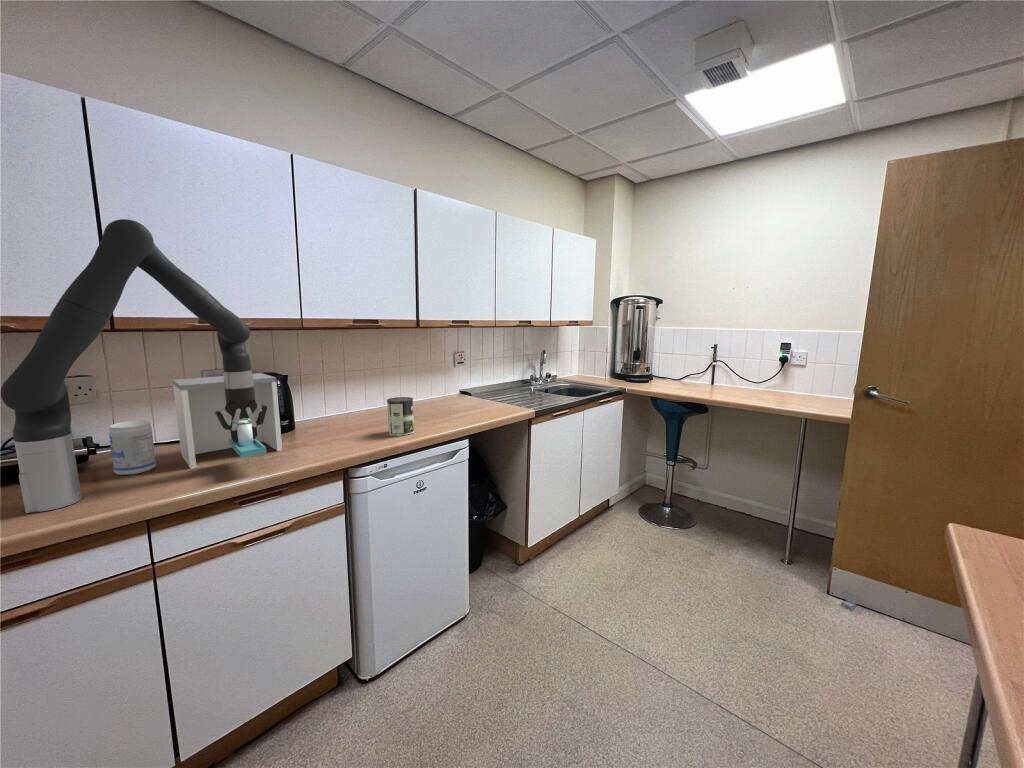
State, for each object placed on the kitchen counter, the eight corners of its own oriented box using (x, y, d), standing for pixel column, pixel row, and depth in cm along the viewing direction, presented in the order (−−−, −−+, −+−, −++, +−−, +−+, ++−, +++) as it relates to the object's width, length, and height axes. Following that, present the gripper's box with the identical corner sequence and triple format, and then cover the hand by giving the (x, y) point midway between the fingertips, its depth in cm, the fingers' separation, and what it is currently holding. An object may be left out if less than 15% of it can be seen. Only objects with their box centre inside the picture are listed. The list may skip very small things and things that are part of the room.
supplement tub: (105, 475, 123) (98, 426, 121) (138, 464, 132) (131, 419, 130) (133, 476, 121) (127, 427, 119) (164, 465, 131) (159, 420, 129)
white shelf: (190, 468, 128) (180, 385, 124) (181, 455, 141) (172, 379, 137) (282, 450, 146) (276, 377, 143) (267, 440, 159) (261, 373, 155)
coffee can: (412, 428, 176) (411, 396, 174) (416, 434, 167) (414, 400, 165) (387, 431, 172) (385, 397, 170) (389, 437, 163) (388, 402, 161)
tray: (266, 453, 123) (264, 428, 122) (241, 457, 119) (238, 432, 118) (252, 440, 136) (250, 418, 135) (229, 444, 132) (226, 421, 131)
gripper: (213, 389, 119) (220, 447, 121) (268, 384, 129) (273, 437, 131) (208, 387, 124) (214, 442, 127) (262, 382, 134) (267, 433, 137)
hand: (244, 439), depth 129 cm, fingers closed on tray, 4 cm apart
